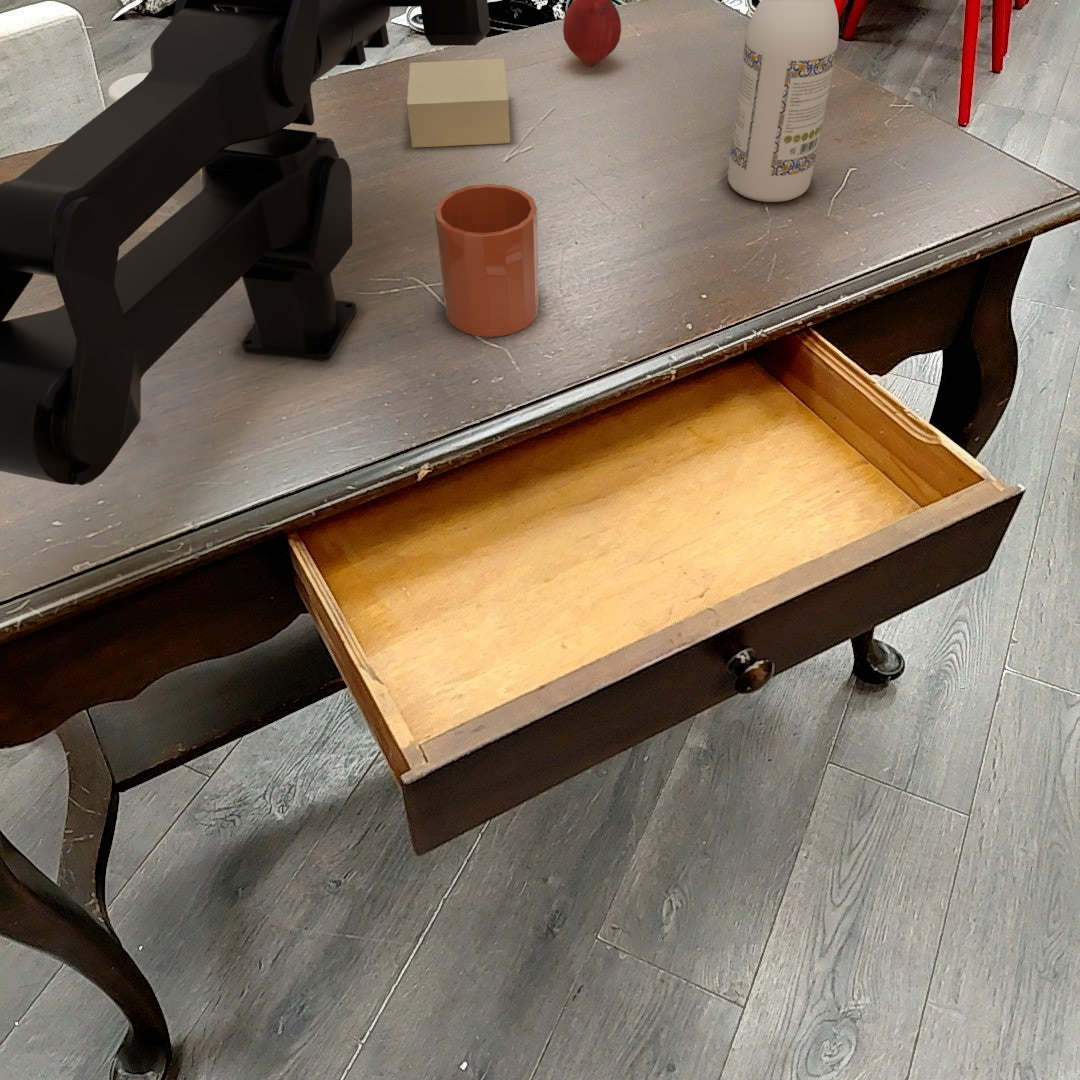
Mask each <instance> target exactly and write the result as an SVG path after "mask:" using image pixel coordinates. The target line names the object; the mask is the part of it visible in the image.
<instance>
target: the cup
mask: <svg viewBox="0 0 1080 1080" xmlns="http://www.w3.org/2000/svg"><path fill="white" fill-rule="evenodd" d="M434 216H435V224H436V225H435V226H436V235H437V236H436V237H437V245H438V253H439V263H440V273H441V281H442V290H443V291H442V292H443V301H444V307H445V312H446V313H445V314H446V317H447V320H448V322H450V324H451V325H452V326H453V327H455V328H456V329H457V330H458V331H461V332H463V333H465V334H468V335H471V336H476V337H485V338H492V337H493V338H495V337H496V338H497V337H505V336H508V335H512V334H515V333H518V332H520V331H523V329H525V328H527V327H528V326H530V324H532V323H533V322H534V321H535V320H536V318H537V315H538V314H539V303H540V279H539V277H540V276H539V238H538V237H539V232H538V229H539V228H538V207H537V205H536V202H535V199H534V198H533V197H532V196H531V195H529V194H528V193H527V192H525V191H524V190H522V189H519V188H516V187H513V186H510V185H505V184H496V183H494V184H493V183H484V184H475V185H468V186H464V187H462V188H459V189H456V190H452V191H451V192H450V193H448V194H447V195H445V196H444V197H442V198H441V199H439V202H438V203H437V205H436V207H435V208H434Z"/></svg>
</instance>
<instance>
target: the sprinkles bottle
mask: <svg viewBox="0 0 1080 1080" xmlns="http://www.w3.org/2000/svg"><path fill="white" fill-rule="evenodd" d="M148 73H149V72H138V73H134V74H129V75H127V76H123V77H121V78H119V79H117V80H115V81H114V82H113V83H112V84H110V86H109V88H108V89H107V95H108V99H109V101H110V105H112V104H113V103H114V102H116V101H117V100H118V99H119V98H121V97H122V96H123V95H125V94H126V93H127V92H128V91H130V90H131V89H132V88H134V87H135V86H136V85H138V84H139V83H140V82H141V81H143V80H144V78H145V77H146V76H147V75H148ZM202 190H203V181H202V171H201V169H200V170H199V171H198V172H197V173H196V174H195V175H194V176H193V177H192V178H191V179H190V180H189V181H188V182H187V183H186V184H185V185H184V186H182V187H181V188H180V189H179V190H178V191H177V192H176V193H175V194H174V195H173V196H172V197H171V198H170V199H169V200H168V201H167V202H166V203H165V204H164V205H163V206H161V207H160V208H159V209H158V210H157V211H156V212H155V213H154V214H153V215H152V216H151V217H152V220H153V223H154V225H155V226H156V229H157V228H158V227H159V226H160V225H161V224H163V223H164V222H165V221H166V220H168V219H169V218H170V217H171V216H172V215H174V214H175V213H176V212H177V211H178V210H180V209H181V208H182V207H183V206H185V205H186V204H187V203H188V202H189V201H191V200H192V199H193V198H194V197H196V196H197V195H198V194H199V193H200V192H201V191H202Z"/></svg>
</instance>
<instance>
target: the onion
mask: <svg viewBox="0 0 1080 1080" xmlns="http://www.w3.org/2000/svg"><path fill="white" fill-rule="evenodd" d="M563 19H564V20H563V26H562V27H563V28H562V33H563V40H564V42H565V43H566V45H567V47H568V49H569V50H570V51H571V52H572V54H573V55H575V56H576V57H577V58H578V59H579V60H580V61H581V62H582V64H584V65H585V66H587V67H589V68H590V67H594V66H596V65H598V64H599V63H600V62H601V61H604V60H605V59H606V58H607V57H608V56H610V54H611V53H612V52H613V51H614V50H615V49H616V48H617V46H618V44H619V42H620V40H621V34H622V22H621V18H620V14H619V11H618V9H617V7H616V6H615V4H614V3H613V1H612V0H573V1H572V2H571V3H570V5H569V6H568V7H567V9H566V12H565V15H564V18H563Z"/></svg>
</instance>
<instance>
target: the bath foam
mask: <svg viewBox="0 0 1080 1080" xmlns="http://www.w3.org/2000/svg"><path fill="white" fill-rule="evenodd" d="M839 24H840V23H839V15H838V10H837V7H836V4H835V0H760V1H759V2H758V4H757V6H756V8H755V10H754V12H753V13H752V16H751V19H750V21H749V25H748V28H747V32H746V37H745V40H744V41H745V42H744V47H743V56H742V64H741V72H740V77H739V78H740V79H739V86H738V93H737V102H736V109H735V116H734V117H735V118H734V123H733V130H732V131H733V132H732V133H733V134H732V140H731V146H730V147H731V148H730V157H729V164H728V173H727V179H728V184H729V186H730V187H731V188H732V189H733V190H734V192H736V193H738V194H739V195H741V196H742V197H745V198H747V199H750V200H753V201H758V202H764V203H781V202H787V201H790V200H791V201H792V200H794V199H797V198H798V197H800V196H802V195H803V194H804V193H806V192H807V190H808V189H809V187H810V185H811V182H812V181H811V180H812V176H813V171H814V166H815V161H816V158H817V152H818V147H819V141H820V137H821V132H822V127H823V121H824V118H825V112H826V107H827V102H828V97H829V92H830V88H831V87H830V86H831V83H832V77H833V71H834V67H835V62H836V57H837V51H838V48H839V47H838V46H839V44H838V43H839V36H840V35H839V33H840V32H839V31H840V28H839V27H840V26H839Z"/></svg>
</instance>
